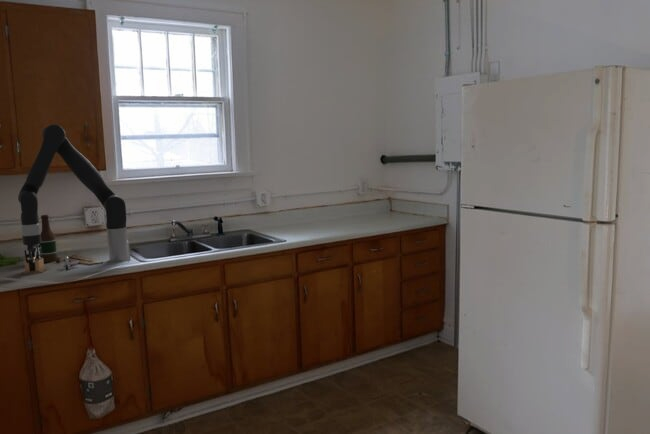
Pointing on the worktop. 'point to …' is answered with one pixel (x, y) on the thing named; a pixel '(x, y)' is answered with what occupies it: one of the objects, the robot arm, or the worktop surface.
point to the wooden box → (36, 271)
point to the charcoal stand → (67, 265)
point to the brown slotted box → (38, 265)
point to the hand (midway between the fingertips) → (35, 269)
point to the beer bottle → (47, 242)
